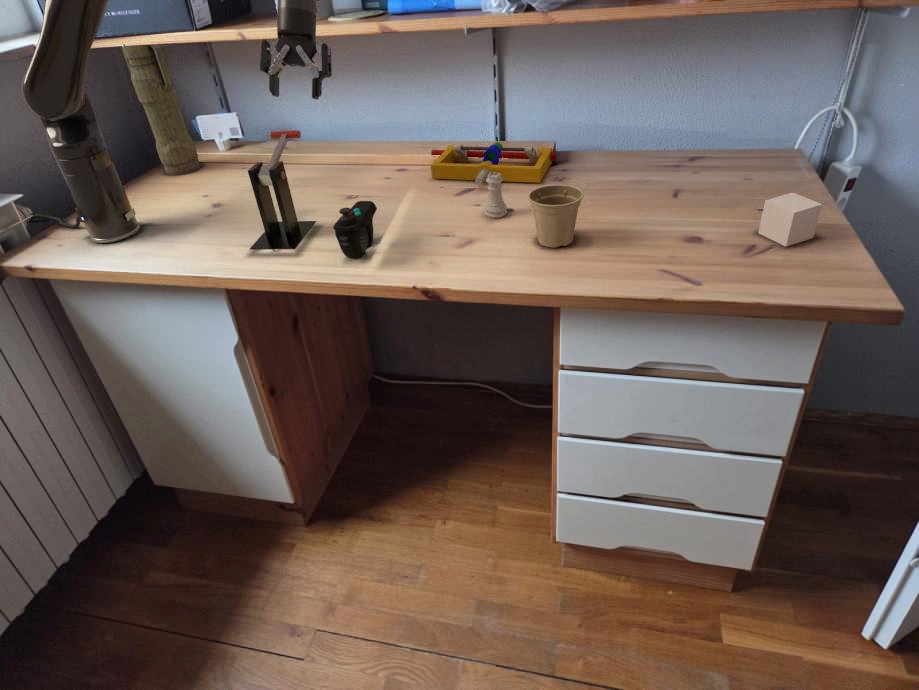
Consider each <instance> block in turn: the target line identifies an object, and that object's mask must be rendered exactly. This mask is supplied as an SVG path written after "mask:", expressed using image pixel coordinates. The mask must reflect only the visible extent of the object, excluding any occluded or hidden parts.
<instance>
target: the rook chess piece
mask: <svg viewBox="0 0 919 690" xmlns="http://www.w3.org/2000/svg"><path fill="white" fill-rule="evenodd" d="M487 176H488V177H487V179H486V182H485V183H487V184H488V185H487V189H488V197H487V202H486V204H485V206H484V214H485V216H486V217H487V218H489V219H490V218H491V219H499V218H500V219H501V218H503V217H505V216H506V214H507V213H508V210H507V207H508V206H507V204H506V203H505V200H504V198H503V195H502V188H503V186H502V182H503V181H502V180H503V178H502V177H501V174H500V173H497V175H496V172H493V175H492V173H489V175H487Z"/></svg>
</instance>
